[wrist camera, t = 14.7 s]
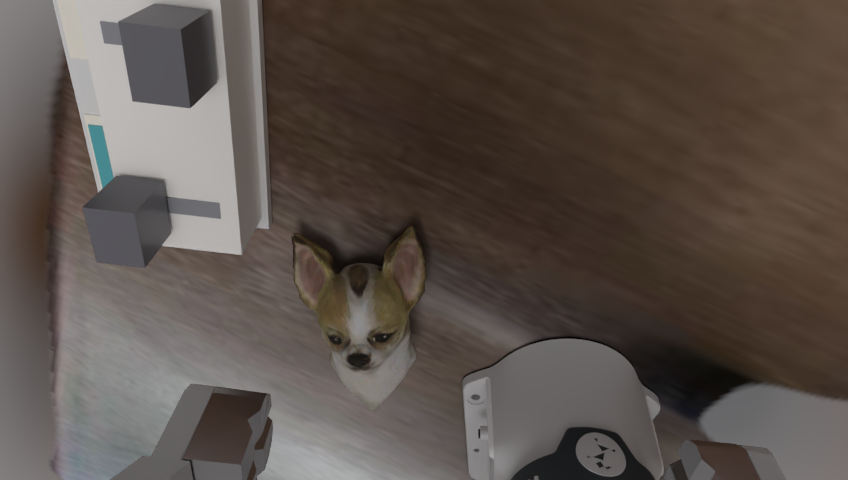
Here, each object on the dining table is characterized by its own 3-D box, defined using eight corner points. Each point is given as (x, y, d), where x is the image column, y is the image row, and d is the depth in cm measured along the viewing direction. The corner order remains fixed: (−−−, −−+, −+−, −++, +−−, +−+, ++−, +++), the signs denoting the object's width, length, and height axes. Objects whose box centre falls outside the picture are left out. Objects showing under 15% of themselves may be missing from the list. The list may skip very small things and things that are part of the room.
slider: (171, 232, 39) (145, 267, 36) (127, 227, 39) (96, 262, 36) (162, 181, 37) (134, 213, 34) (116, 175, 37) (82, 207, 34)
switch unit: (272, 222, 46) (249, 267, 41) (109, 203, 46) (65, 246, 41) (247, -299, 29) (202, -331, 24) (-15, -334, 29) (-117, -375, 24)
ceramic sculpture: (305, 430, 47) (262, 276, 39) (325, 357, 54) (292, 216, 47) (436, 426, 46) (418, 267, 38) (439, 352, 53) (423, 208, 46)
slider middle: (217, 82, 33) (190, 108, 30) (165, 76, 33) (132, 101, 30) (210, 10, 31) (180, 29, 28) (154, 3, 31) (117, 21, 28)
